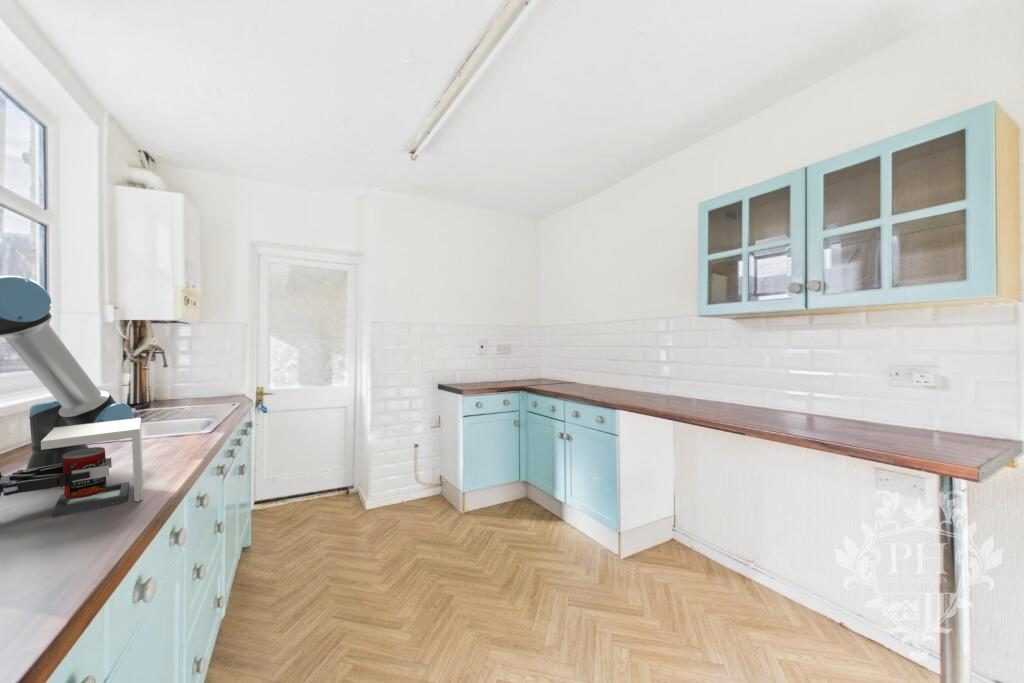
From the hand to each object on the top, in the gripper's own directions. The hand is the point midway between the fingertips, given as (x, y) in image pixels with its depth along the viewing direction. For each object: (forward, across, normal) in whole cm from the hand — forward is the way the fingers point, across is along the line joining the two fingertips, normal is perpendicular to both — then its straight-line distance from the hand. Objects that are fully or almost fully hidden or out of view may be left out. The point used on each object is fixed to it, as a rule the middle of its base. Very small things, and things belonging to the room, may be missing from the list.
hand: (109, 466), depth 109 cm
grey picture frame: (-3, 0, -8) cm, 9 cm away
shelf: (-3, 0, -8) cm, 9 cm away
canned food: (-5, 0, -6) cm, 8 cm away
